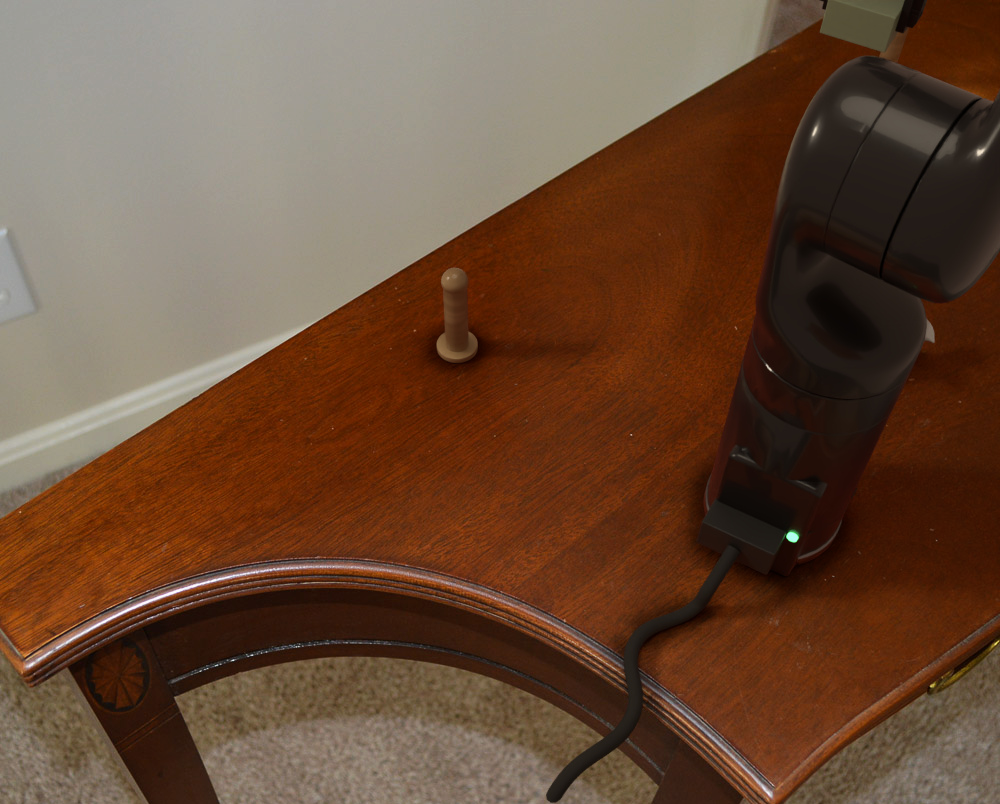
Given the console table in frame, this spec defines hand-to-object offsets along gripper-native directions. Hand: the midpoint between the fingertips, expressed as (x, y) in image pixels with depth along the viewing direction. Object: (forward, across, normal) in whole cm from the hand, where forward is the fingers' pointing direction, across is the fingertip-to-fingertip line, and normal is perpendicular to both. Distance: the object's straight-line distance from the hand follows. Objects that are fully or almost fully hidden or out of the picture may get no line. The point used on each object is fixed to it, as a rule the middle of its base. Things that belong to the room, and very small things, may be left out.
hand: (866, 16), depth 88 cm
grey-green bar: (+1, 0, +6) cm, 6 cm away
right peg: (+14, +1, +13) cm, 19 cm away
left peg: (+13, -16, -37) cm, 43 cm away
